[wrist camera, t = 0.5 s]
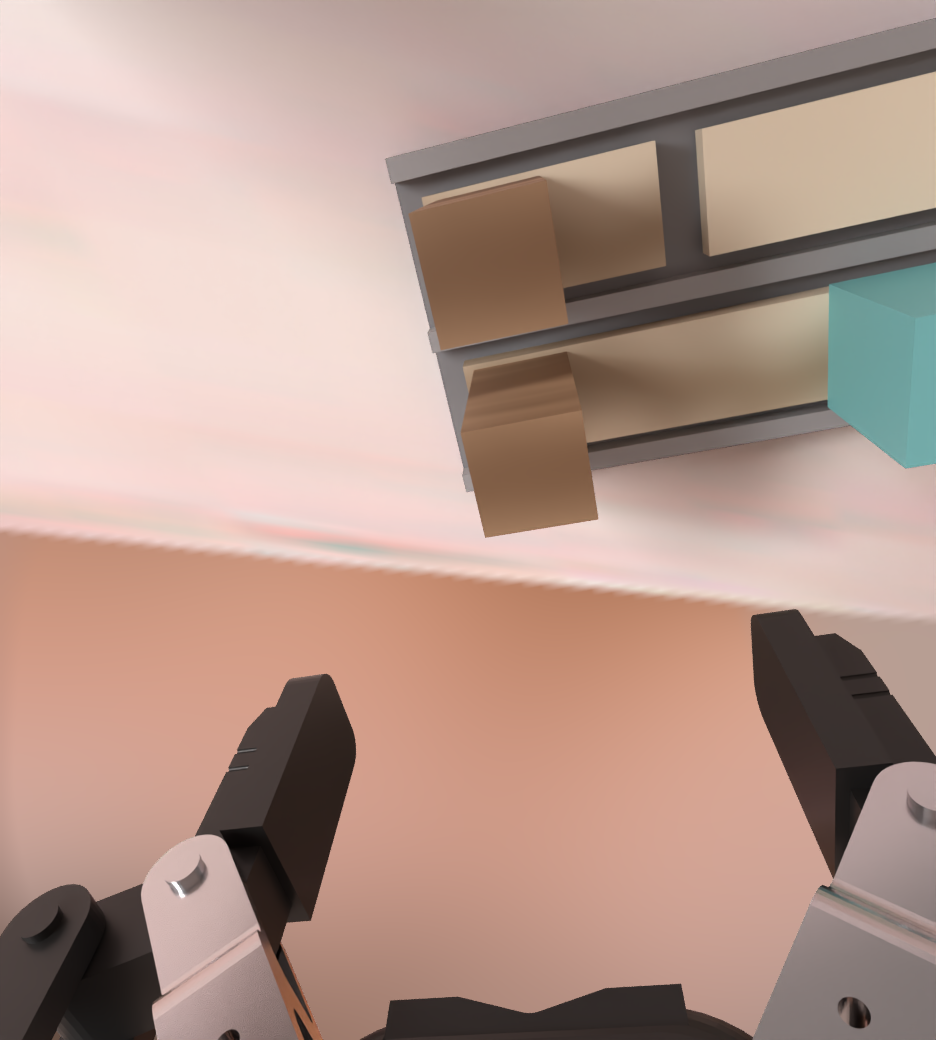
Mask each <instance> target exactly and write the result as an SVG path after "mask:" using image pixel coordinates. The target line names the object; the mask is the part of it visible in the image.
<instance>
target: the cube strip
mask: <svg viewBox="0 0 936 1040" xmlns="http://www.w3.org/2000/svg"><path fill="white" fill-rule="evenodd" d="M828 329H829V286H827V287H822V288H817V289H812V290H807V291H803V292H798V293H793V294H788V295H783V296H778V297H773V298H768V299H763V300H759V301H754V302H749V303H744V304H739V305H734V306H729V307H724V308H719V309H714V310H710V311H705V312H700V313H695V314H690V315H685V316H680V317H675V318H670V319H666V320H661V321H656V322H651V323H646V324H641V325H636V326H631V327H626V328H622V329H617V330H612V331H607V332H602V333H597V334H592V335H587V336H582V337H577V338H573V339H568V340H563V341H558V342H553V343H548V344H543V345H538V346H533V347H529V348H524V349H519V350H514V351H509V352H504V353H499V354H494V355H489V356H484V357H480V358H475V359H470V360H465V361H464V364H463V371H464V375H465V380H466V384H467V388H468V393H469V395H468V400H467V405H466V409H465V414H464V419H463V423H462V428H461V438H462V442H463V446H464V450H465V454H466V459H467V463H468V467H469V471H470V476H471V480H472V484H473V488H474V492H475V497H476V501H477V505H478V509H479V513H480V518H481V522H482V526H483V530H484V534H485V538H486V537H492V536H499V535H505V534H511V533H517V532H523V531H529V530H535V529H542V528H548V527H554V526H560V525H566V524H572V523H579V522H585V521H591V520H597V519H598V514H597V507H596V501H595V494H594V487H593V481H592V474H591V468H590V461H589V455H588V448H587V443H589V442H595V441H600V440H606V439H611V438H617V437H622V436H628V435H634V434H639V433H645V432H650V431H656V430H661V429H667V428H672V427H678V426H684V425H689V424H695V423H700V422H706V421H711V420H717V419H722V418H728V417H733V416H739V415H745V414H750V413H756V412H761V411H767V410H772V409H778V408H783V407H789V406H795V405H800V404H806V403H811V402H817V401H822V400H828Z"/></svg>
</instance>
